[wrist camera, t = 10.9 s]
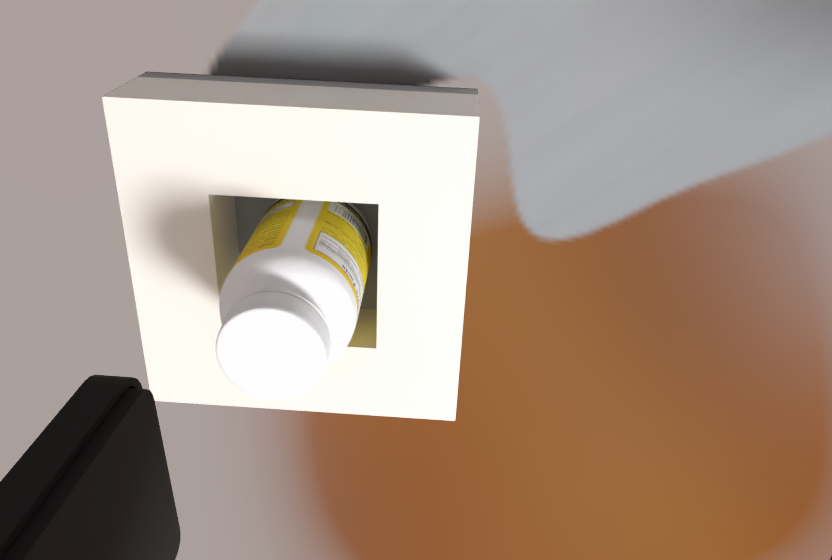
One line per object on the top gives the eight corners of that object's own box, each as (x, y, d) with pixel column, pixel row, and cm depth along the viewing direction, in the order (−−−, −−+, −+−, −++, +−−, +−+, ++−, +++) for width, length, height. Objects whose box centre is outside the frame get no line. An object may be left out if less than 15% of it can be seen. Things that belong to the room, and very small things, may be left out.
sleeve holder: (477, 88, 32) (479, 116, 28) (456, 366, 39) (455, 420, 35) (146, 71, 32) (101, 96, 28) (183, 348, 39) (151, 400, 35)
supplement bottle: (257, 280, 36) (191, 402, 27) (264, 176, 33) (194, 275, 24) (366, 298, 36) (336, 427, 27) (382, 196, 33) (354, 302, 25)
